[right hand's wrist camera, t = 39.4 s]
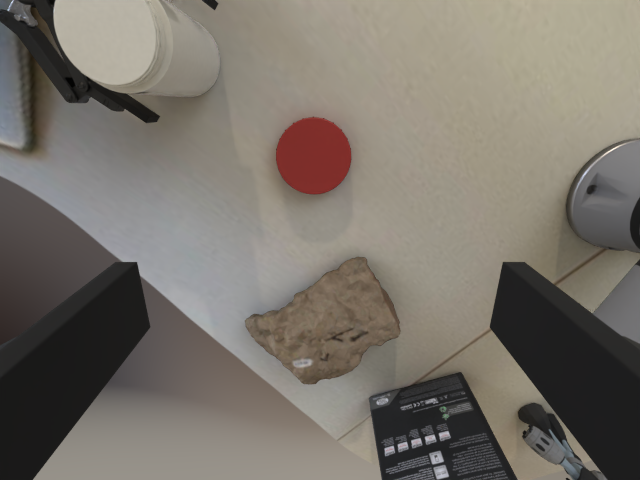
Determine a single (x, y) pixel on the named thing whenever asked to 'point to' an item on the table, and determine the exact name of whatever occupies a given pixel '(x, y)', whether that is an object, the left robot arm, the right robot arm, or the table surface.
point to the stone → (328, 324)
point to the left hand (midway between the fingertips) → (182, 64)
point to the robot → (553, 442)
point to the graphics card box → (436, 434)
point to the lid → (313, 155)
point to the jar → (138, 46)
